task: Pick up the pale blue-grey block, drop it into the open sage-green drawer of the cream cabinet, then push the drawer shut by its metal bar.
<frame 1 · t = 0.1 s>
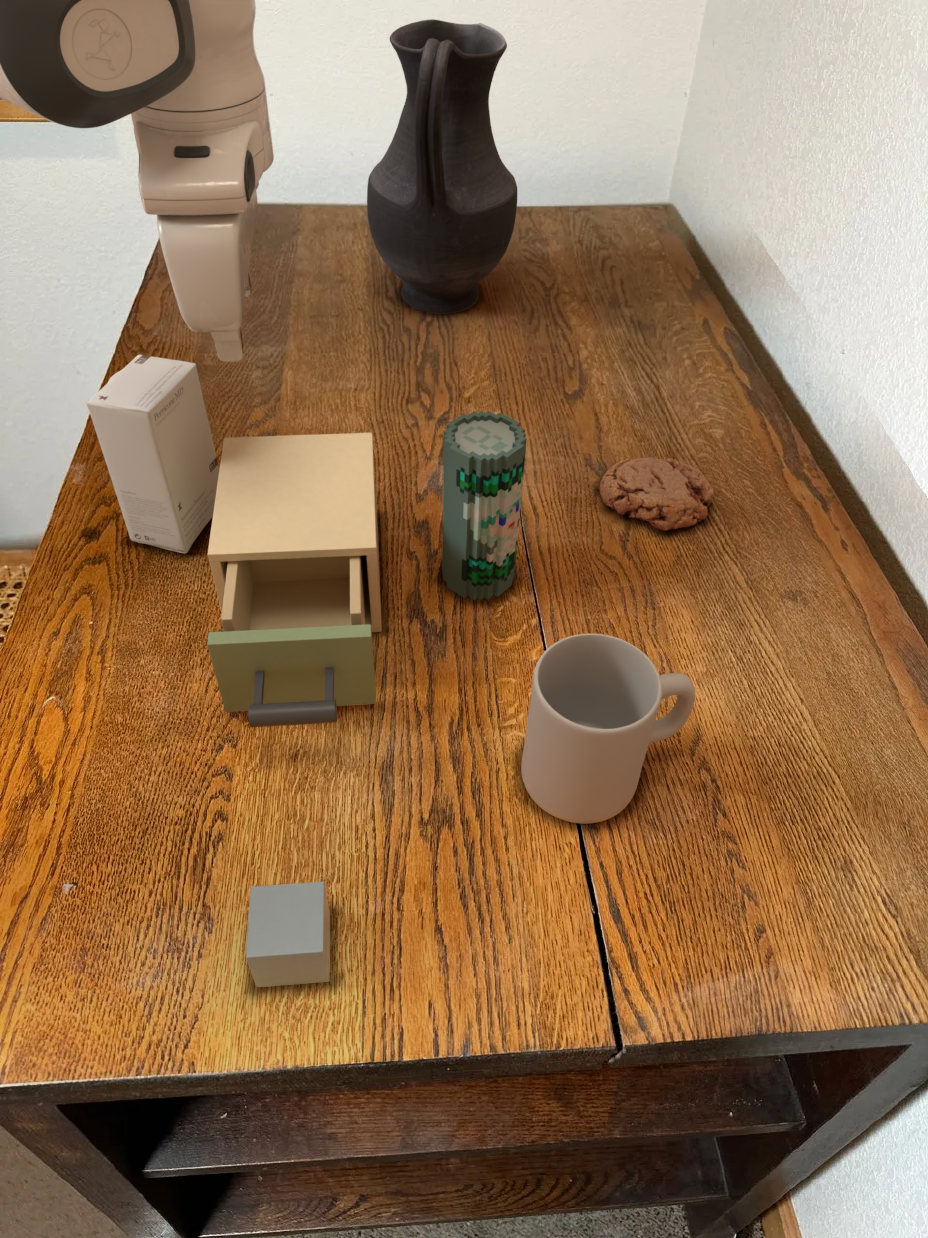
hand: (236, 323, 73), 20 cm above the table, tool pointing down, fingers open, 8 cm apart
mug: (600, 770, 69), on the table
block: (294, 949, 59), on the table
pitcher: (439, 303, 115), on the table
can: (478, 576, 83), on the table
cosmetic box: (179, 521, 87), on the table
cabinet: (307, 574, 82), on the table
drawer: (297, 630, 71), point 5 cm above the table, slide at 7.0 cm
cookie: (653, 502, 90), on the table
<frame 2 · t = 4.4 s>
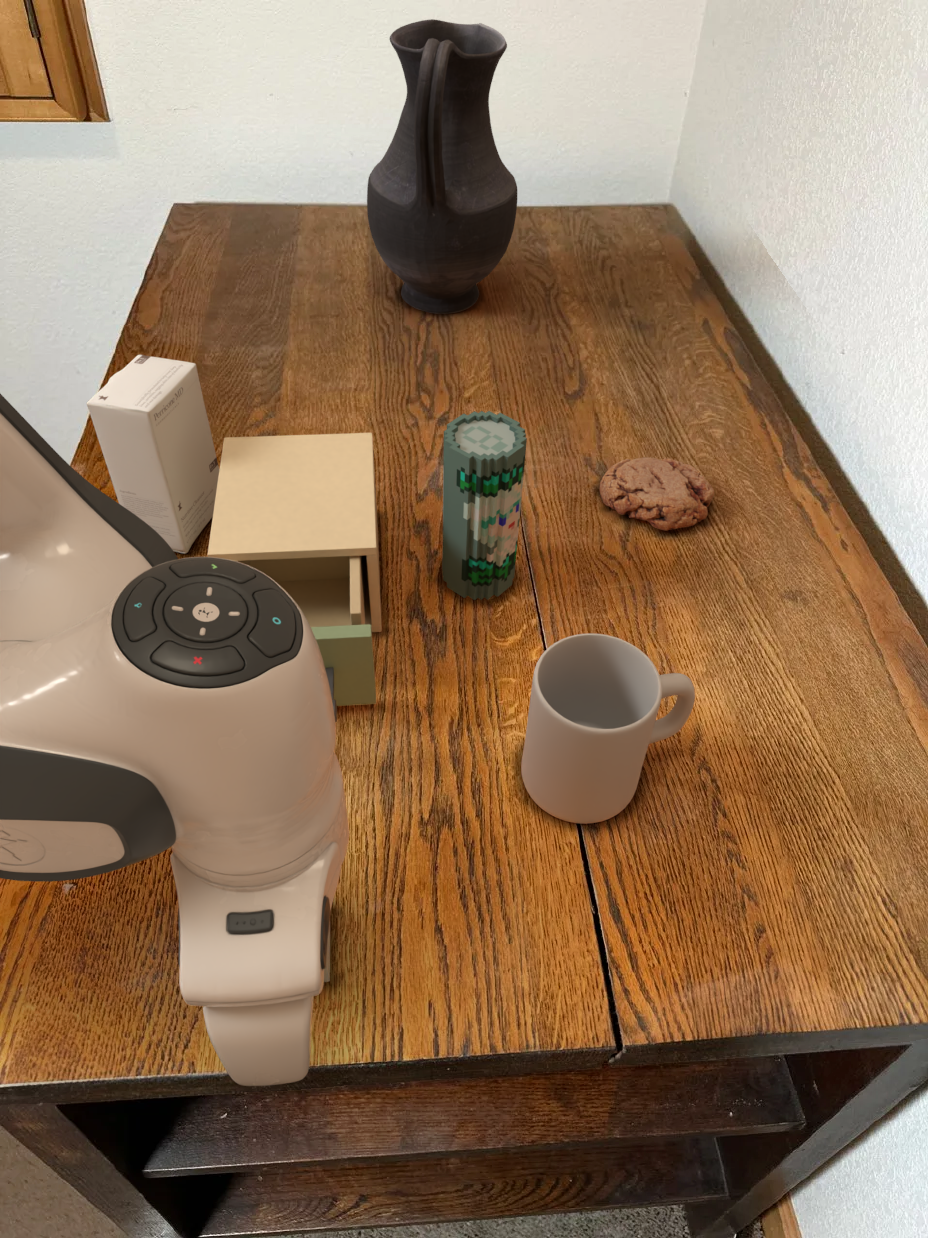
hand: (291, 939, 58), 2 cm above the table, tool pointing down, fingers closed on block, 4 cm apart
block: (294, 949, 59), on the table, touching gripper
everything else where it was.
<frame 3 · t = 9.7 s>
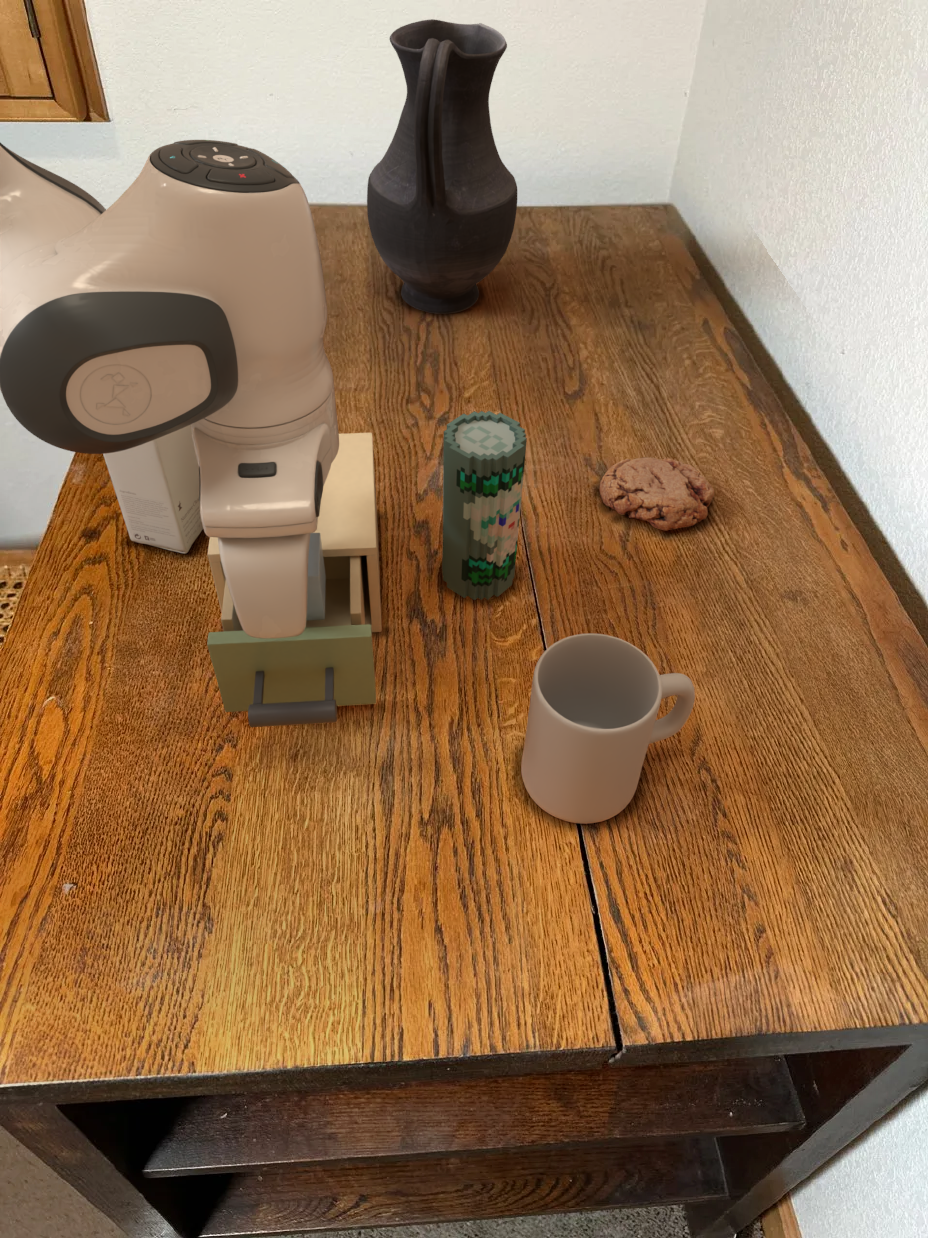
hand: (291, 584, 68), 10 cm above the table, tool pointing down, fingers closed on block, 4 cm apart
block: (294, 599, 69), point 8 cm above the table, touching gripper
everything else where it was.
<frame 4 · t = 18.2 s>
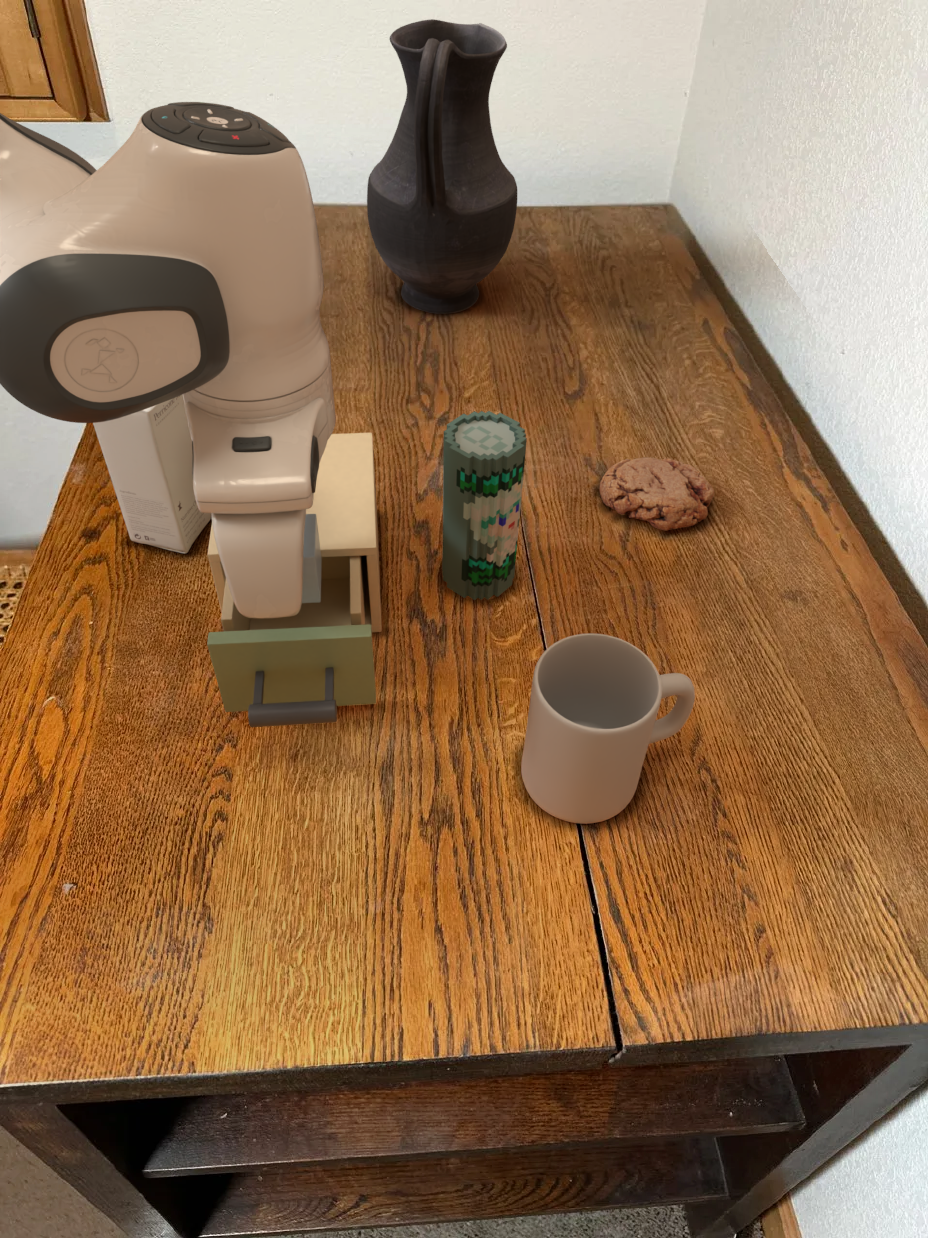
hand: (286, 566, 66), 11 cm above the table, tool pointing down, fingers closed on block, 4 cm apart
block: (290, 582, 68), point 10 cm above the table, touching gripper
everything else where it was.
when the fingers open (13 cm above the table, at t = 26.4 s): block drops 9 cm, resting on drawer.
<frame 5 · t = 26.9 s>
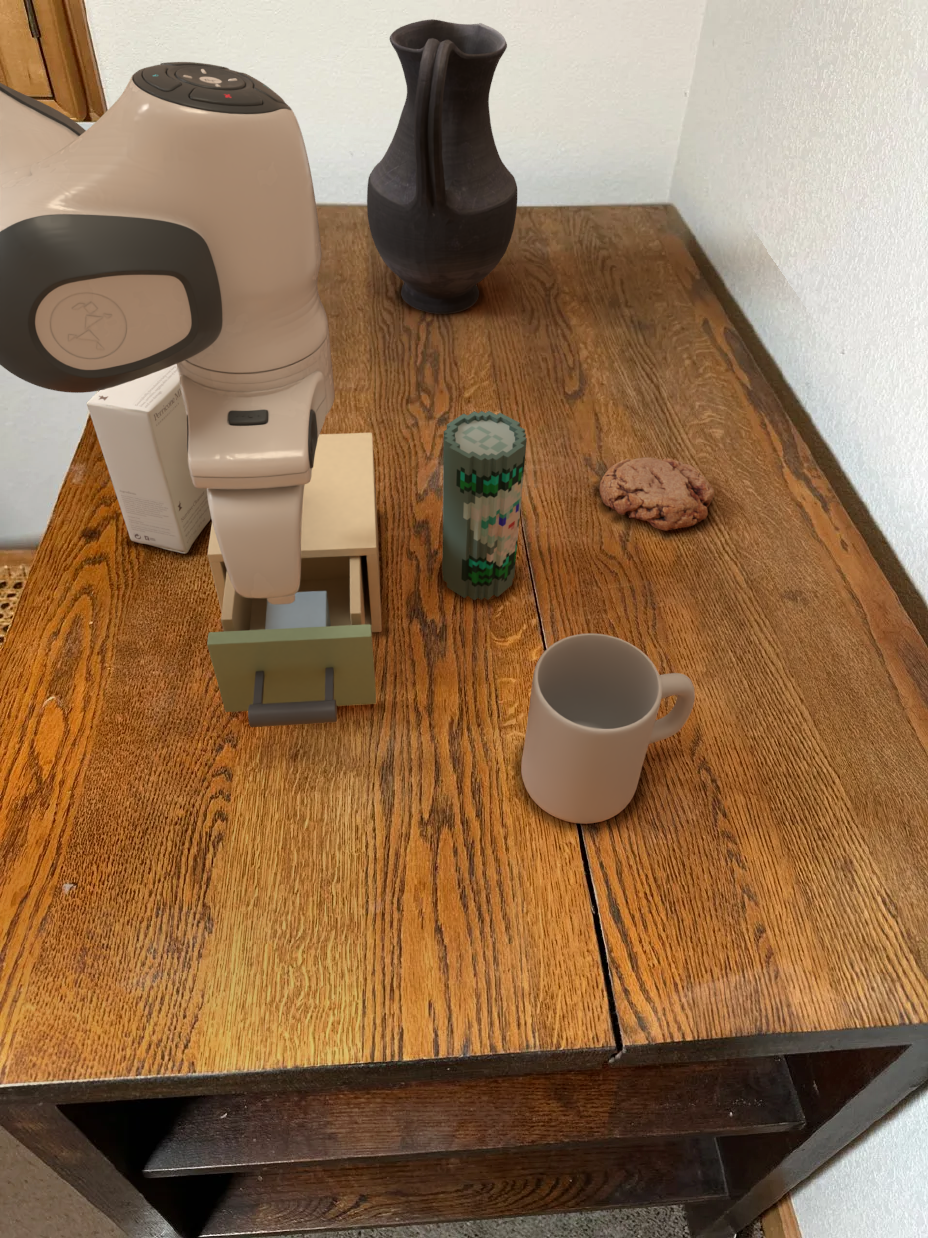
hand: (285, 548, 65), 13 cm above the table, tool pointing down, fingers open, 8 cm apart
block: (302, 652, 73), point 2 cm above the table, touching drawer
drawer: (297, 630, 71), point 5 cm above the table, slide at 7.0 cm, touching block
everything else where it was.
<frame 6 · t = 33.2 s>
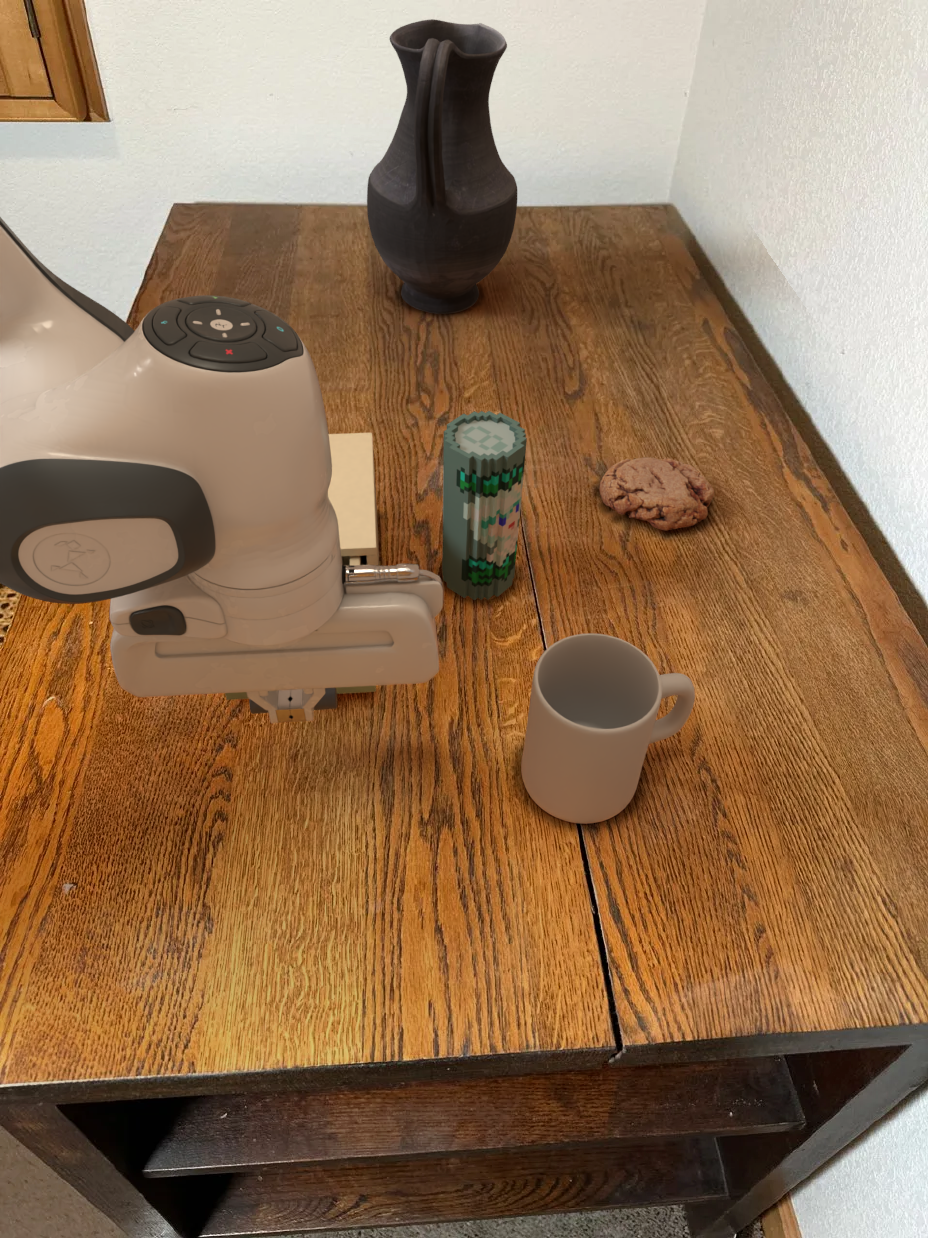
hand: (293, 714, 64), 6 cm above the table, tool pointing down, fingers closed, pressing on drawer
block: (302, 640, 74), point 2 cm above the table, touching drawer
drawer: (298, 619, 72), point 5 cm above the table, slide at 5.8 cm, touching block, gripper
everything else where it was.
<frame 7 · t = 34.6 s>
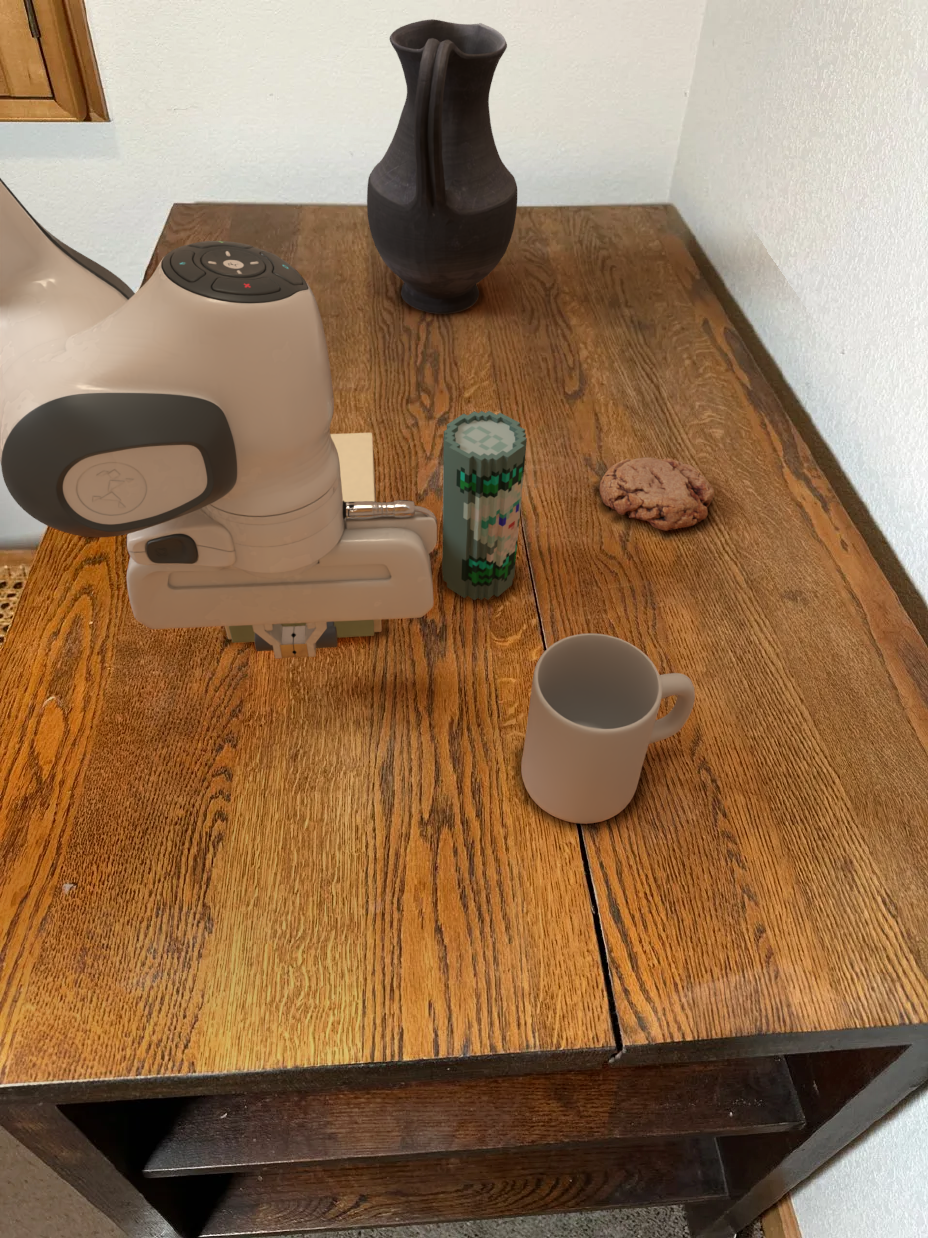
hand: (296, 651, 68), 6 cm above the table, tool pointing down, fingers closed, pressing on drawer
block: (304, 588, 78), point 2 cm above the table, touching drawer
drawer: (300, 566, 76), point 5 cm above the table, slide at 0.0 cm, touching block, cabinet, gripper
everything else where it was.
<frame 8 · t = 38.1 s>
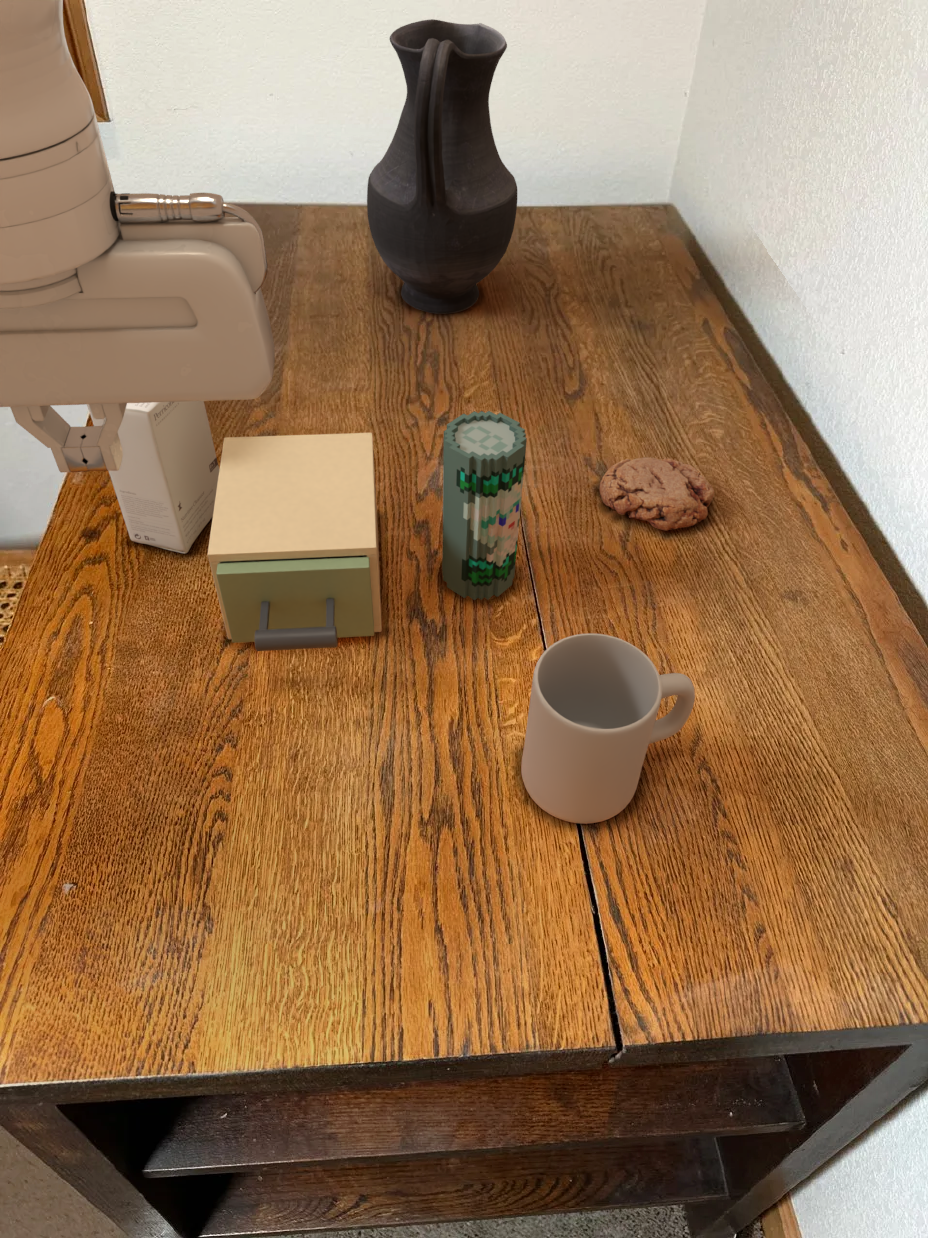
hand: (92, 464, 49), 27 cm above the table, tool pointing down, fingers closed
drawer: (300, 566, 76), point 5 cm above the table, slide at 0.0 cm, touching block
everything else where it was.
at the end: block inside the target area in the cabinet (1.3 cm from its centre), point 2.0 cm above the cabinet's base; drawer slide at 0.0 cm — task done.
